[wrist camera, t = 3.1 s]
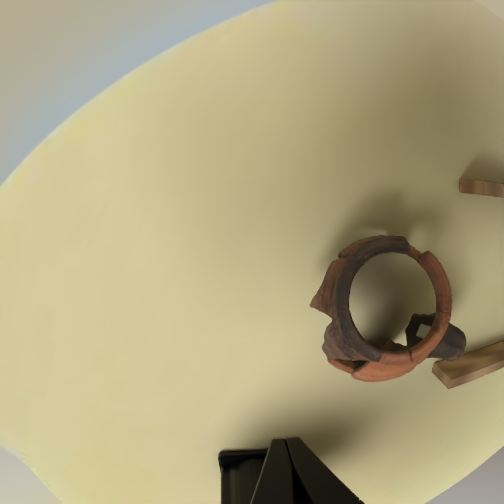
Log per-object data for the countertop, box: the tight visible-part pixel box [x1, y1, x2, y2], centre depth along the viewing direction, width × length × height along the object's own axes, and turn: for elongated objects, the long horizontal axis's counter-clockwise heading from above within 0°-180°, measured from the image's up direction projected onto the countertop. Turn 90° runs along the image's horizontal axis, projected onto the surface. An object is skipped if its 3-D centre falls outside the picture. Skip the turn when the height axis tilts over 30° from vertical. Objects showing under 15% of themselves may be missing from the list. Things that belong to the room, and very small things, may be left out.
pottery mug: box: [310, 235, 466, 382], centre depth 18 cm, size 12×10×8 cm
